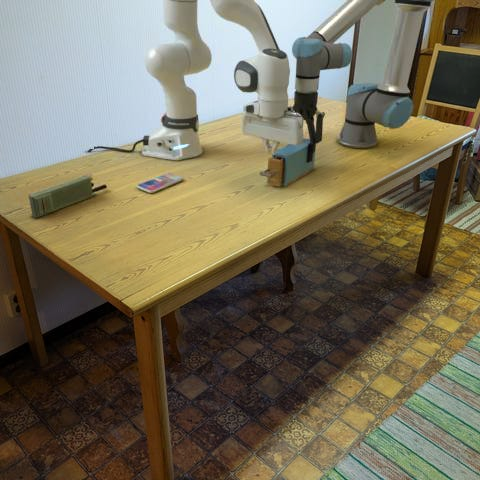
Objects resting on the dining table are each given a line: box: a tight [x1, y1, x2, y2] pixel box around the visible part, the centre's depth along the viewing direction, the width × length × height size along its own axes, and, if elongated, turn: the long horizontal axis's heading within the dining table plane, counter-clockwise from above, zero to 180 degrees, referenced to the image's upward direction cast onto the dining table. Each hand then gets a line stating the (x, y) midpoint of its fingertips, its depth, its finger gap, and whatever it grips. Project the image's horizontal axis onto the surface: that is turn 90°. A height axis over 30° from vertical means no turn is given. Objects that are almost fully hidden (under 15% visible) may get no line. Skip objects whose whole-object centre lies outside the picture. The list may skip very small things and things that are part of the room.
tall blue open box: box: [271, 137, 316, 187], centre depth 170 cm, size 19×6×10 cm, turn 144°
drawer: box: [259, 156, 285, 188], centre depth 165 cm, size 23×4×8 cm, turn 144°
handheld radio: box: [28, 173, 108, 219], centre depth 150 cm, size 7×3×25 cm
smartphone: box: [136, 172, 184, 194], centre depth 164 cm, size 7×1×15 cm
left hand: (271, 153), depth 155 cm, fingers closed
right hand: (301, 159), depth 173 cm, fingers closed on tall blue open box, 6 cm apart
